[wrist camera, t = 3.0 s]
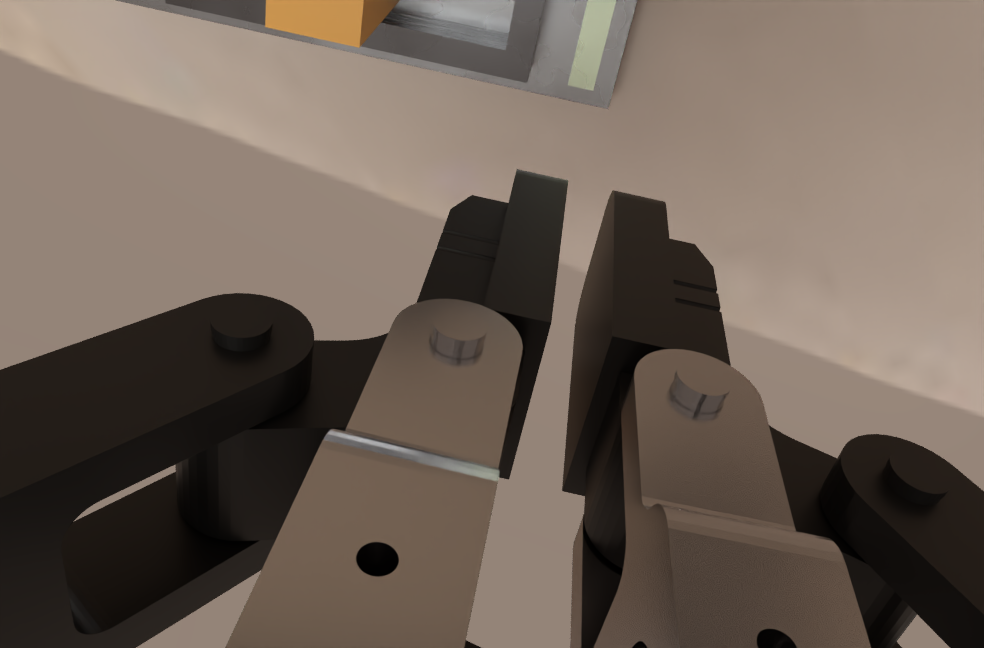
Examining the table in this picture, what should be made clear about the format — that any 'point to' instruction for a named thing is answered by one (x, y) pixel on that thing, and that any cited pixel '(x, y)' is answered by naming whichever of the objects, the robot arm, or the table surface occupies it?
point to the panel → (476, 39)
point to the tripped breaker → (329, 18)
